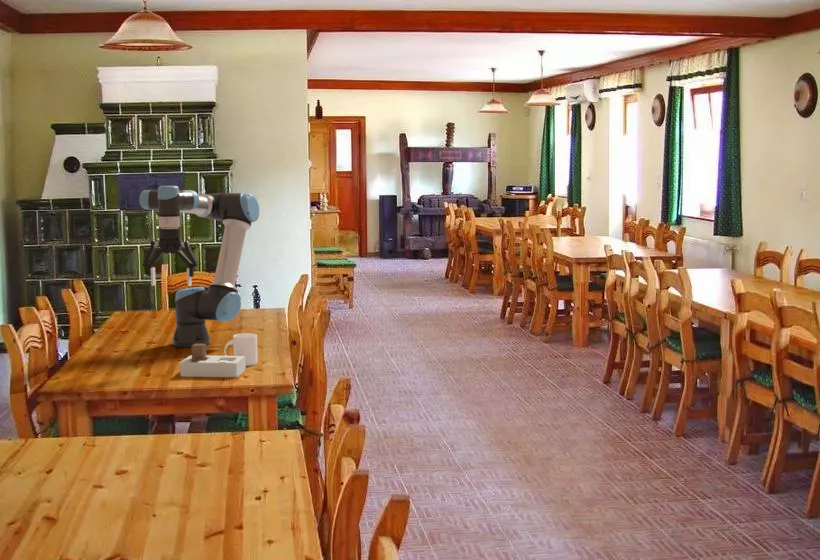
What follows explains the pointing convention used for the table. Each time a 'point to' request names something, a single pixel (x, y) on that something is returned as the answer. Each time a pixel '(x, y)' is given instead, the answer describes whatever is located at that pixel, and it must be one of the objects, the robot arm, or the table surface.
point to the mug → (245, 347)
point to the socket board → (213, 366)
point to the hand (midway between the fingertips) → (171, 285)
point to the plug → (199, 352)
